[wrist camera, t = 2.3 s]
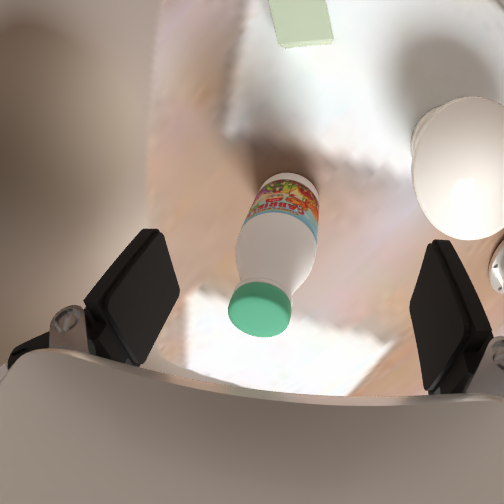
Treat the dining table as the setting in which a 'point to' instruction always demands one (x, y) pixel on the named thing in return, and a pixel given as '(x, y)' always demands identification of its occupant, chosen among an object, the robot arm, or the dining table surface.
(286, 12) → the block
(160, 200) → the dining table surface
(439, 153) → the cake stand
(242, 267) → the milk bottle
